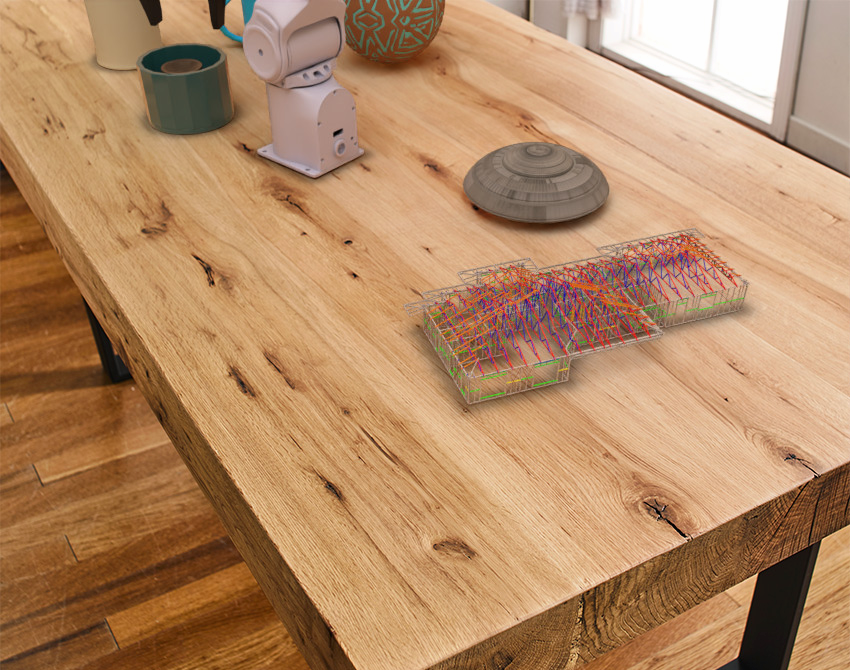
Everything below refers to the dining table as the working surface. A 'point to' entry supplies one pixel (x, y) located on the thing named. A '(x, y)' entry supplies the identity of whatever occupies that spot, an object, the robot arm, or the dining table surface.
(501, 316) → the roof frame
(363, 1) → the decorative sphere
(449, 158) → the dining table surface
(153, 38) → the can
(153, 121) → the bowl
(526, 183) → the flying saucer
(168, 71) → the spool
